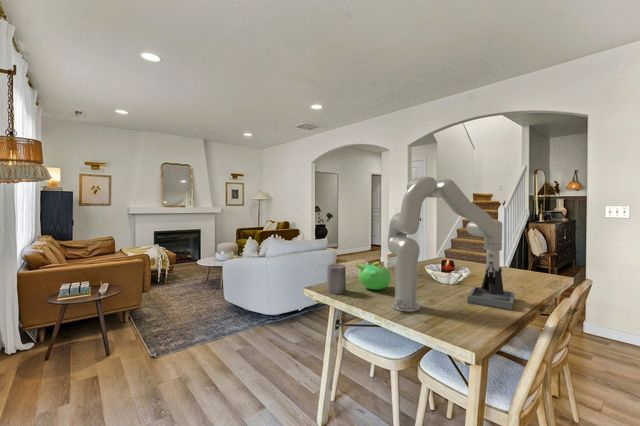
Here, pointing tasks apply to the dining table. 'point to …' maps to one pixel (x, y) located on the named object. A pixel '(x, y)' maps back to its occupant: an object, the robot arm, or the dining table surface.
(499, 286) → the door stopper
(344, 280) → the pillar candle
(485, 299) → the tray
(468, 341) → the dining table surface
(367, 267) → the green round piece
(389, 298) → the dining table surface
